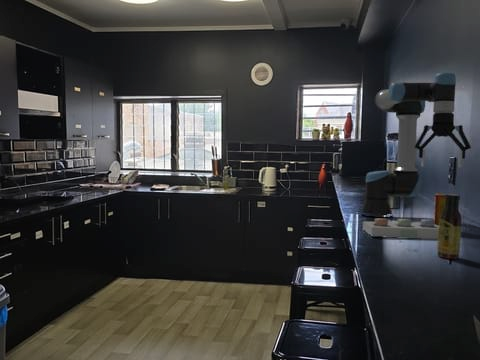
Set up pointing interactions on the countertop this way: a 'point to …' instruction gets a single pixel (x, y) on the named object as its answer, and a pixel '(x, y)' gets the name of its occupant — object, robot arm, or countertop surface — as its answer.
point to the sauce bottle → (450, 228)
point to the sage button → (404, 223)
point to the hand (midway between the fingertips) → (441, 166)
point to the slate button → (427, 223)
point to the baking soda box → (438, 206)
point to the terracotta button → (381, 222)
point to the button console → (401, 230)
